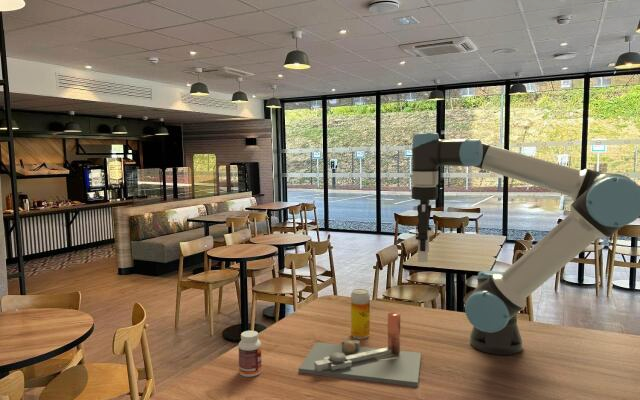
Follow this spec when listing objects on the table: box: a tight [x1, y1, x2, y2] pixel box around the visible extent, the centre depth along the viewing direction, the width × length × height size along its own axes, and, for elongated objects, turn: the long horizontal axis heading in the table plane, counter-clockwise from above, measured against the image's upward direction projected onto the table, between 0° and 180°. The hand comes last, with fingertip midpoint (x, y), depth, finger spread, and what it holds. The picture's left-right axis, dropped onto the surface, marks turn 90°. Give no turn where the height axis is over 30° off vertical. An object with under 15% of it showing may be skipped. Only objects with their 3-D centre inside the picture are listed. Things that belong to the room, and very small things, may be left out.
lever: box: [314, 311, 401, 371], centre depth 132 cm, size 27×6×12 cm, turn 115°
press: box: [298, 338, 422, 388], centre depth 133 cm, size 32×18×5 cm, turn 75°
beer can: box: [350, 288, 371, 340], centre depth 153 cm, size 6×6×15 cm
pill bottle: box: [238, 330, 263, 378], centre depth 129 cm, size 6×6×11 cm
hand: (423, 256), depth 141 cm, fingers open, 13 cm apart
